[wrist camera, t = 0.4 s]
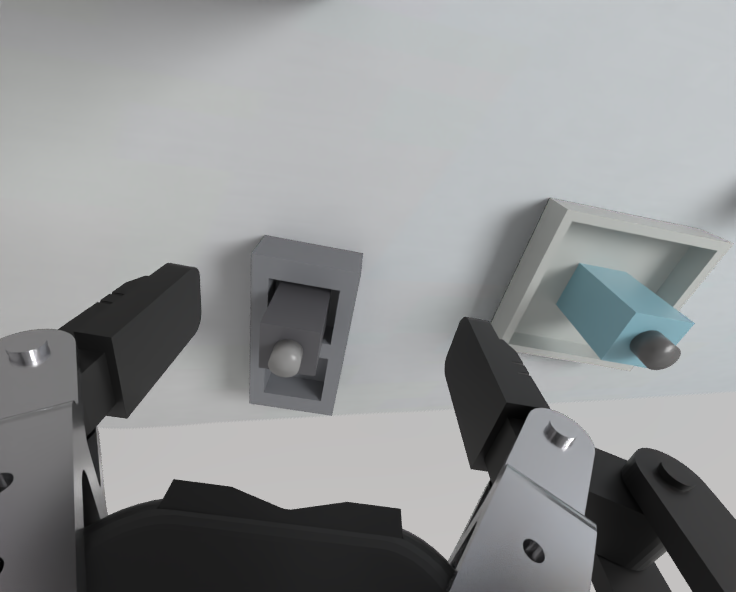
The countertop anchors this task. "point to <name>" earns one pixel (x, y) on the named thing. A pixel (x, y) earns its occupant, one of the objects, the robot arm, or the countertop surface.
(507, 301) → the tray
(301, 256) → the grey socket holder
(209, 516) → the robot arm
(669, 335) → the teal plug
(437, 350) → the countertop surface
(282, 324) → the dark grey knobbed block
